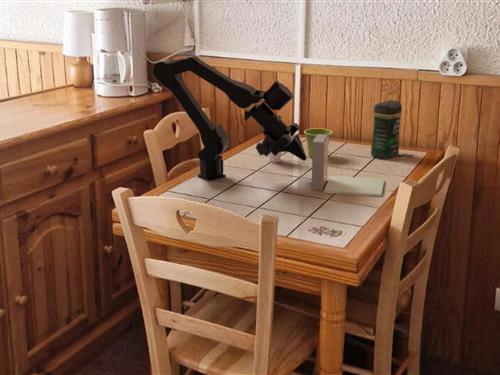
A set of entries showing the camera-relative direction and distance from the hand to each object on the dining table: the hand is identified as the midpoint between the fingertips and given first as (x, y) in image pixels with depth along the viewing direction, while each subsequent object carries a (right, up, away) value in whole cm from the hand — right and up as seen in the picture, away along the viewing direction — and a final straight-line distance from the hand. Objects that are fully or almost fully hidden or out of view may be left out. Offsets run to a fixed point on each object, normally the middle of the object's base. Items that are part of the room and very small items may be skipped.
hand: (305, 159), depth 199 cm
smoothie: (-8, 0, +25) cm, 26 cm away
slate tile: (+4, -7, +1) cm, 8 cm away
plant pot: (+6, +2, +29) cm, 30 cm away
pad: (+14, -8, -1) cm, 16 cm away
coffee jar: (+29, +2, +30) cm, 42 cm away
